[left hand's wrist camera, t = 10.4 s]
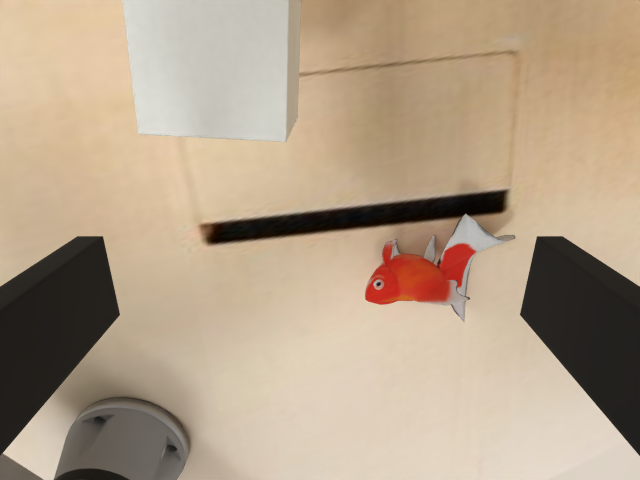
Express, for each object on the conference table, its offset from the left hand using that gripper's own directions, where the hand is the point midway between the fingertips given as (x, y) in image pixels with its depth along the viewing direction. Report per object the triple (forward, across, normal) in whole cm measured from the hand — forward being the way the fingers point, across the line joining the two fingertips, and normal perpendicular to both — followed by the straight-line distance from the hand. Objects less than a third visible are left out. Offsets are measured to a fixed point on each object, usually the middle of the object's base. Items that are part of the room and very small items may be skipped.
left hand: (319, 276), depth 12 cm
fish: (+29, -12, +11) cm, 33 cm away
